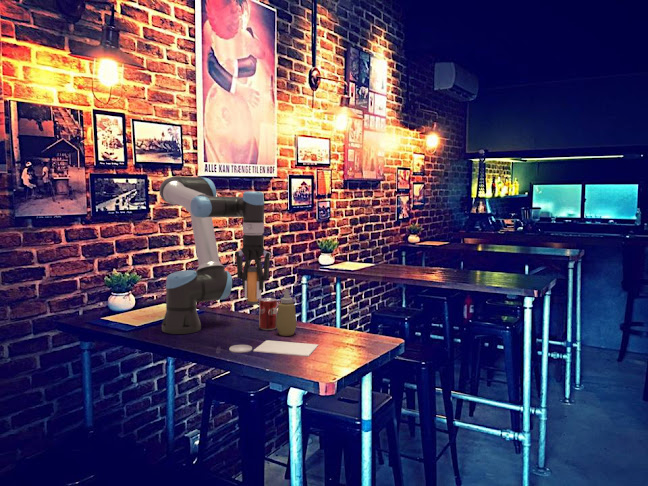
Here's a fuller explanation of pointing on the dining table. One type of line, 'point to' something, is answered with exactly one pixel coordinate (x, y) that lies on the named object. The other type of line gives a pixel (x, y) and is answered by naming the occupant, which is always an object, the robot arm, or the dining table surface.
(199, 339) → the dining table surface
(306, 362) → the dining table surface
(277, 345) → the paper
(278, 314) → the squeeze bottle
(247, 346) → the coaster
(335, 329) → the dining table surface
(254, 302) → the thermos bottle
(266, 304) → the soda can
